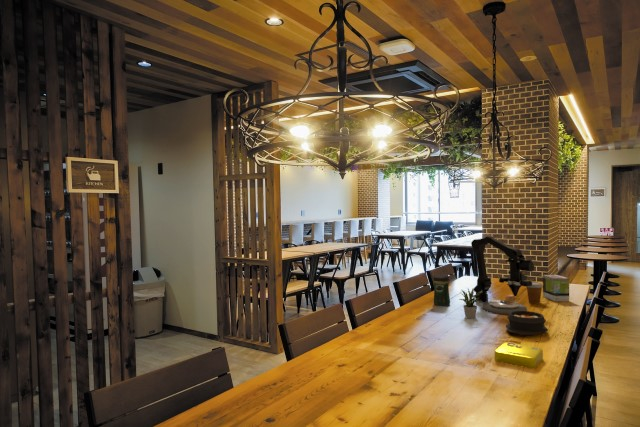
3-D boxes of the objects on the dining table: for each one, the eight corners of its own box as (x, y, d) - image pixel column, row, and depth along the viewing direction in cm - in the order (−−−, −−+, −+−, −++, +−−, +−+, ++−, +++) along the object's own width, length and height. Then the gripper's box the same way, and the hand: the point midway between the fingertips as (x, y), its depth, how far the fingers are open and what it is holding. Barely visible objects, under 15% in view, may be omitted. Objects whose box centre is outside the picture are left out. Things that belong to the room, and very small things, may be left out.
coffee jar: (451, 304, 272) (451, 274, 272) (447, 306, 266) (446, 276, 266) (436, 302, 278) (436, 273, 278) (431, 305, 272) (431, 275, 271)
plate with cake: (511, 310, 245) (511, 301, 245) (484, 305, 257) (484, 297, 256) (525, 304, 257) (525, 296, 257) (499, 300, 269) (499, 293, 269)
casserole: (541, 341, 196) (541, 322, 196) (498, 334, 208) (498, 316, 208) (553, 328, 215) (553, 311, 215) (513, 323, 227) (513, 306, 227)
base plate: (476, 311, 254) (476, 307, 254) (489, 303, 273) (489, 300, 273) (520, 316, 239) (520, 313, 239) (531, 308, 258) (531, 304, 258)
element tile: (493, 362, 172) (493, 349, 172) (504, 351, 184) (504, 340, 184) (534, 370, 163) (534, 357, 163) (544, 359, 175) (543, 347, 175)
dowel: (505, 303, 264) (504, 295, 264) (505, 302, 266) (505, 295, 266) (508, 303, 263) (508, 296, 263) (509, 302, 265) (509, 295, 264)
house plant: (487, 321, 230) (487, 290, 230) (460, 320, 233) (459, 290, 233) (483, 315, 244) (482, 285, 244) (457, 314, 247) (456, 285, 247)
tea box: (570, 301, 275) (569, 277, 275) (553, 301, 275) (553, 278, 275) (557, 296, 290) (557, 274, 290) (542, 296, 290) (541, 274, 290)
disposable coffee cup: (539, 300, 278) (538, 281, 278) (545, 304, 268) (545, 284, 268) (523, 300, 279) (523, 281, 279) (529, 304, 269) (528, 284, 269)
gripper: (537, 270, 256) (538, 297, 256) (510, 267, 273) (510, 292, 273) (525, 272, 251) (526, 299, 251) (498, 268, 267) (498, 294, 267)
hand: (515, 296), depth 261 cm, fingers closed
